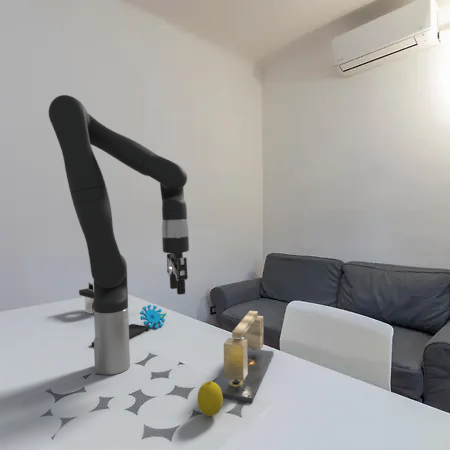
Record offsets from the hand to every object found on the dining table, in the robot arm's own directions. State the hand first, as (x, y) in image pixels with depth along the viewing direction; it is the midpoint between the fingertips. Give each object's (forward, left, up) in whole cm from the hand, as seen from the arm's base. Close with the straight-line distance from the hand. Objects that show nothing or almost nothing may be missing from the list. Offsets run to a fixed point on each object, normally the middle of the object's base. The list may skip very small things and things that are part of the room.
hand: (177, 291), depth 106 cm
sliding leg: (+18, -9, -19) cm, 28 cm away
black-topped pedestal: (-30, +55, -22) cm, 66 cm away
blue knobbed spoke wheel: (-7, +33, -21) cm, 40 cm away
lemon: (+4, -29, -21) cm, 36 cm away
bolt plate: (+17, -11, -21) cm, 29 cm away
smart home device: (-18, +24, -22) cm, 37 cm away
